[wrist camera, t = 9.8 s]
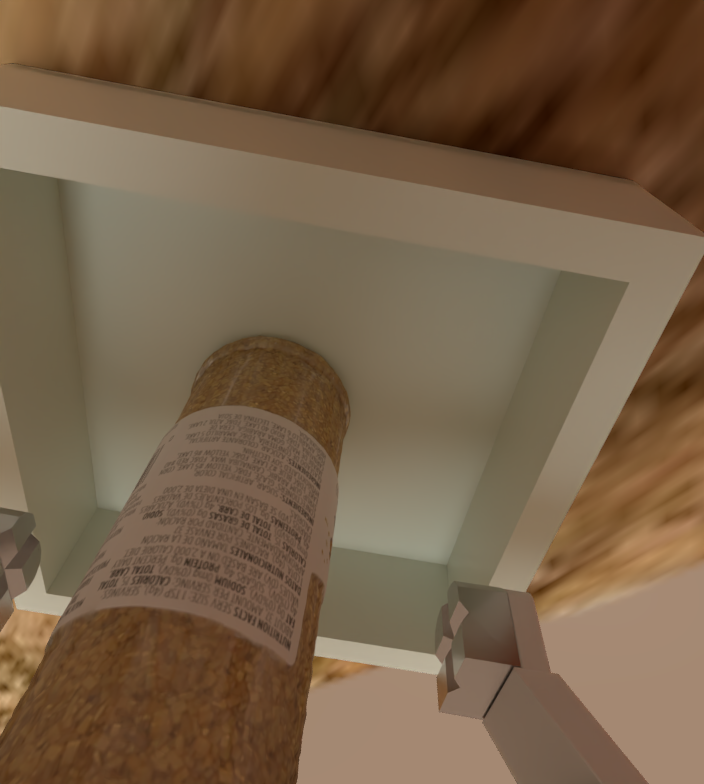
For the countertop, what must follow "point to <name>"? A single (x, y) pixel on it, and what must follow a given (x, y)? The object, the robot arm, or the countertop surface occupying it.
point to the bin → (318, 329)
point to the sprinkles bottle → (200, 593)
